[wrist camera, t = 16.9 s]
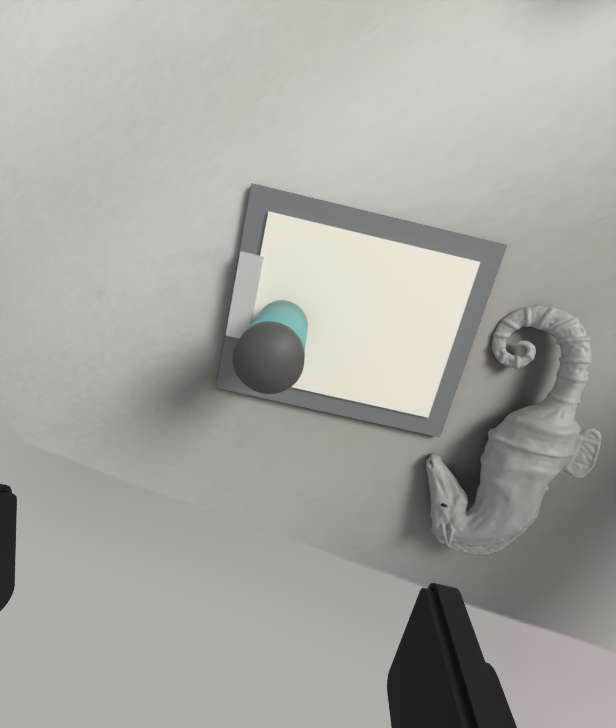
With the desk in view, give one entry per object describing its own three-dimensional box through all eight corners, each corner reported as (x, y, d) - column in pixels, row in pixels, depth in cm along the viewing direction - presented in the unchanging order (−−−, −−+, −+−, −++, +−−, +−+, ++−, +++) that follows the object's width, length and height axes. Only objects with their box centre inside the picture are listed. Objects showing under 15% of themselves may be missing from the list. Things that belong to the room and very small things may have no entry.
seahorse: (446, 296, 30) (411, 556, 33) (641, 311, 26) (582, 604, 29) (449, 299, 35) (418, 526, 38) (614, 312, 31) (566, 563, 34)
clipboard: (503, 244, 30) (512, 245, 29) (437, 433, 34) (443, 442, 33) (252, 184, 29) (249, 181, 28) (217, 385, 33) (212, 391, 32)
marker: (313, 303, 30) (310, 333, 21) (303, 351, 32) (296, 400, 23) (262, 292, 30) (238, 318, 21) (254, 341, 31) (227, 386, 22)
